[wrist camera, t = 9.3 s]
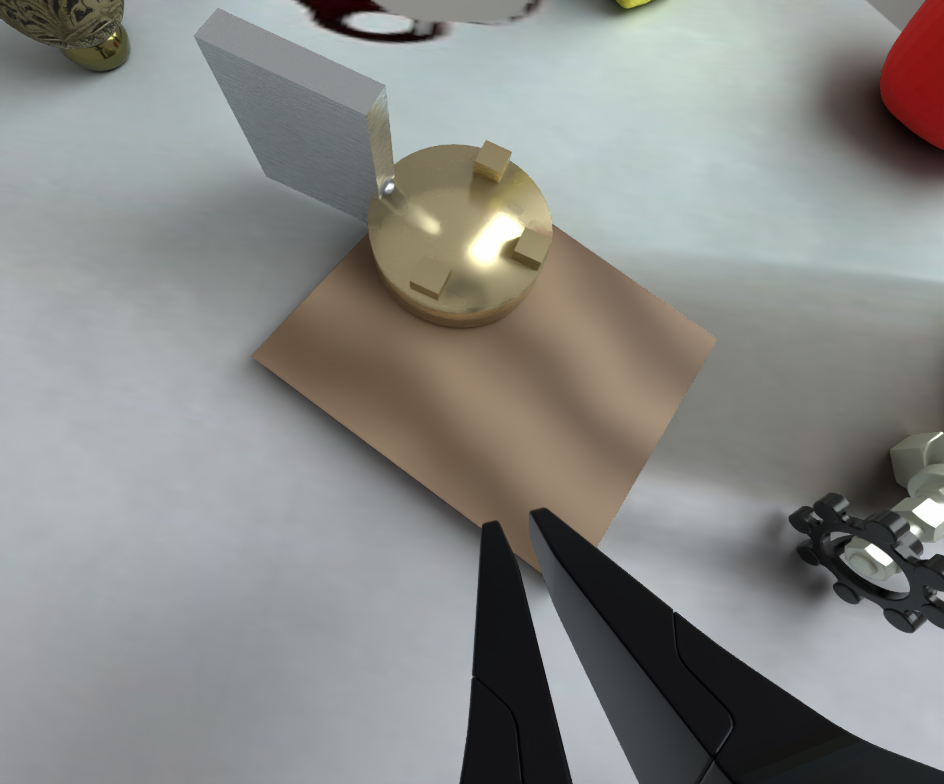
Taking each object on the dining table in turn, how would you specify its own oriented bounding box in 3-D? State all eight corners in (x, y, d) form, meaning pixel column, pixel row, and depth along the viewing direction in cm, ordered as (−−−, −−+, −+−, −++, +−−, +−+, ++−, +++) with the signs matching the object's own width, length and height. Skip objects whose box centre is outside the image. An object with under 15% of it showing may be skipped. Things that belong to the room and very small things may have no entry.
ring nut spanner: (562, 220, 23) (618, 110, 16) (502, 355, 21) (538, 292, 14) (315, 106, 23) (269, -51, 16) (228, 230, 21) (132, 106, 14)
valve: (903, 403, 25) (762, 500, 23) (1065, 374, 19) (894, 505, 16) (973, 499, 24) (834, 611, 22) (1170, 504, 18) (1005, 664, 15)
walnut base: (559, 586, 20) (569, 594, 19) (263, 364, 21) (251, 355, 20) (700, 347, 24) (717, 339, 23) (445, 169, 25) (446, 150, 24)
